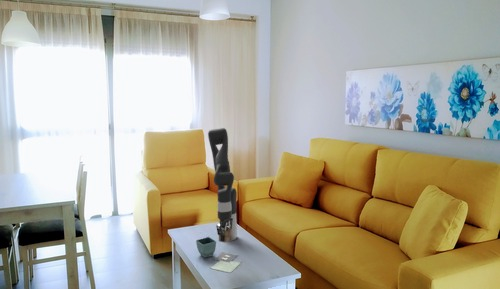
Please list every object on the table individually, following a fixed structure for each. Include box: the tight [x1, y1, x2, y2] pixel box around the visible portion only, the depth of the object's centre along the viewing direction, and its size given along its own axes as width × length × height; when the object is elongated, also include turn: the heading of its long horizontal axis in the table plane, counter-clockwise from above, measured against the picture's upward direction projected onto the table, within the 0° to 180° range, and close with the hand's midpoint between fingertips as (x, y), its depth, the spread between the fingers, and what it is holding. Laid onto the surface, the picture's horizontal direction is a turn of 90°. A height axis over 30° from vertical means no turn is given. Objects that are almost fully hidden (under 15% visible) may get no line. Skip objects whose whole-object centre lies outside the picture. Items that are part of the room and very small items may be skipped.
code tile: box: [213, 252, 238, 262], centre depth 216 cm, size 10×10×1 cm
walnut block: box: [218, 228, 233, 244], centre depth 203 cm, size 5×5×6 cm
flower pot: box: [195, 236, 217, 259], centre depth 218 cm, size 9×9×9 cm
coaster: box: [210, 259, 242, 274], centre depth 205 cm, size 12×12×1 cm
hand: (225, 239), depth 203 cm, fingers closed on walnut block, 5 cm apart
